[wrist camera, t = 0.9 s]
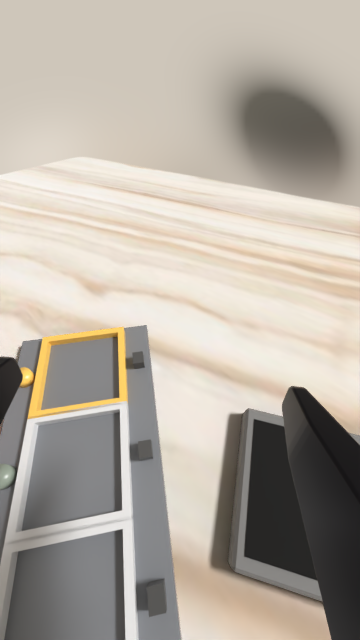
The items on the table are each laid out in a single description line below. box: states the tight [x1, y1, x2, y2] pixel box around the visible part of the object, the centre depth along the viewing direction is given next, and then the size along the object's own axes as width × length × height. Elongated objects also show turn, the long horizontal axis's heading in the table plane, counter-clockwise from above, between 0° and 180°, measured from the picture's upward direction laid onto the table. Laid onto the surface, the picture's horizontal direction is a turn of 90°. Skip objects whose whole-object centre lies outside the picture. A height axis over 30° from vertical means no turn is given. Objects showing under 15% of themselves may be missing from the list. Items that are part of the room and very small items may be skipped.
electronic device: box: [228, 408, 360, 602], centre depth 18 cm, size 10×2×15 cm
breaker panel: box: [0, 325, 182, 640], centre depth 20 cm, size 25×13×2 cm, turn 10°
